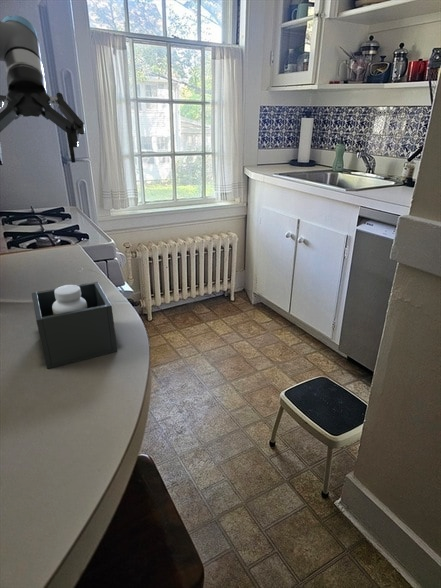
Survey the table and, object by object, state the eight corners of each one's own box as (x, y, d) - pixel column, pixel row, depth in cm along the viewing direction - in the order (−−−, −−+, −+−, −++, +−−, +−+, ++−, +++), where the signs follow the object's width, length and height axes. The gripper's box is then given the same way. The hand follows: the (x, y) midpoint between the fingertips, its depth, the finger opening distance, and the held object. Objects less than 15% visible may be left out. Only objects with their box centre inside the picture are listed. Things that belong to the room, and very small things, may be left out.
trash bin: (46, 369, 61) (36, 320, 57) (41, 336, 70) (31, 292, 66) (117, 351, 65) (111, 305, 62) (103, 323, 74) (97, 281, 71)
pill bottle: (51, 345, 66) (40, 293, 62) (73, 330, 70) (64, 280, 66) (78, 352, 64) (69, 298, 60) (98, 336, 69) (91, 285, 65)
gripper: (87, 95, 92) (101, 168, 86) (-35, 92, 84) (-29, 174, 77) (85, 66, 85) (101, 144, 79) (-47, 61, 77) (-42, 147, 71)
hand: (37, 159), depth 78 cm, fingers open, 13 cm apart
